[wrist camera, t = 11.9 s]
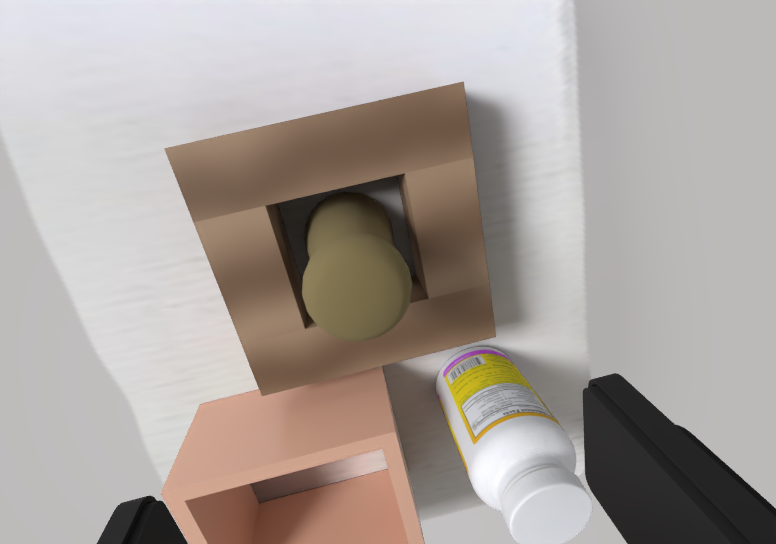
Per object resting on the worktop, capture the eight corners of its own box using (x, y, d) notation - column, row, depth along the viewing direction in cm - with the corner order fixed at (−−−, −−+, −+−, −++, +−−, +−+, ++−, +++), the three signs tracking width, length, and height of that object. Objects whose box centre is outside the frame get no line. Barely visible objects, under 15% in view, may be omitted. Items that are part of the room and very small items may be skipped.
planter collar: (199, 404, 32) (160, 493, 24) (380, 358, 32) (395, 431, 25) (251, 514, 36) (231, 618, 29) (408, 472, 37) (429, 562, 29)
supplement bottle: (496, 416, 36) (579, 567, 24) (423, 405, 35) (474, 560, 23) (525, 349, 34) (631, 477, 22) (449, 335, 32) (519, 464, 21)
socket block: (188, 143, 25) (164, 148, 22) (444, 86, 26) (463, 81, 22) (269, 362, 31) (261, 396, 28) (476, 310, 32) (495, 336, 28)
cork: (410, 240, 29) (453, 307, 19) (344, 294, 30) (351, 385, 20) (354, 172, 27) (369, 206, 17) (284, 231, 28) (259, 297, 18)
